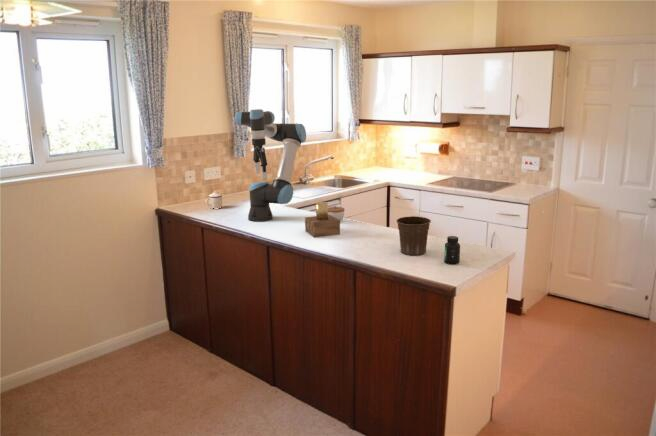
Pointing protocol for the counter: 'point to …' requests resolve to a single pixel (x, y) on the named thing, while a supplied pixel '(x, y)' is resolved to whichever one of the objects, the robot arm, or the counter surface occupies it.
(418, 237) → the plant pot
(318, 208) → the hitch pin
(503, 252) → the counter surface
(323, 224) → the block
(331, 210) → the lidded jar
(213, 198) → the teacup with lid
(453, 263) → the supplement bottle
